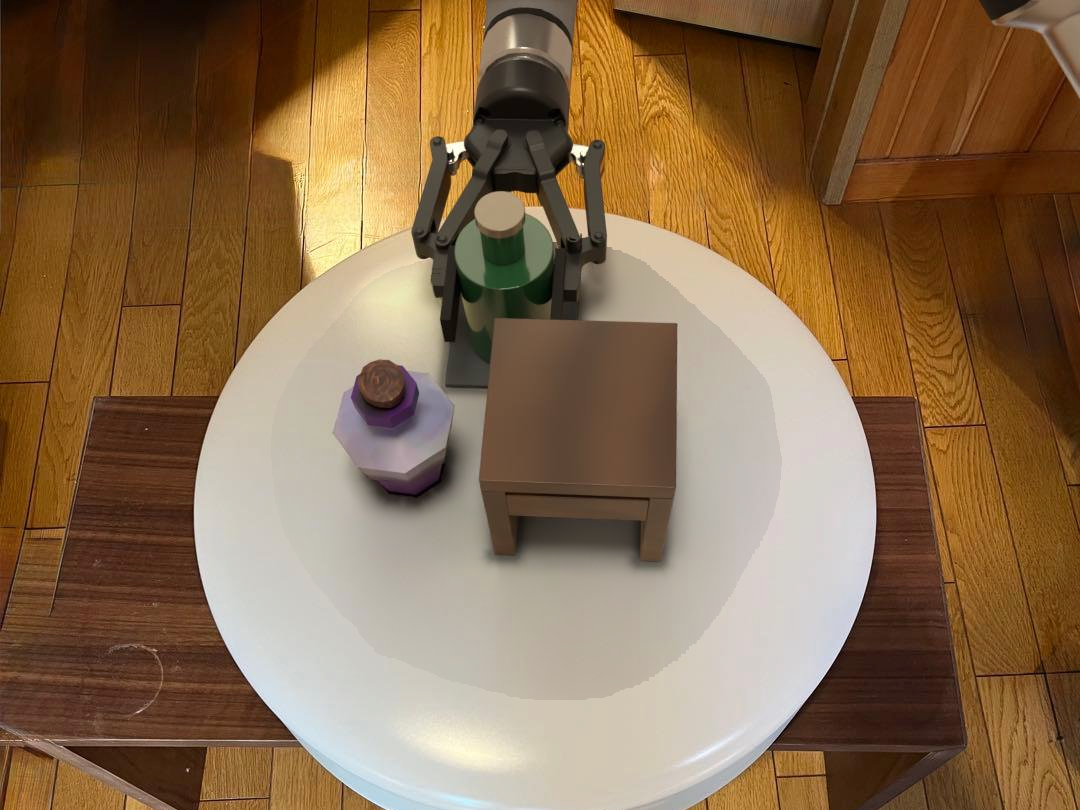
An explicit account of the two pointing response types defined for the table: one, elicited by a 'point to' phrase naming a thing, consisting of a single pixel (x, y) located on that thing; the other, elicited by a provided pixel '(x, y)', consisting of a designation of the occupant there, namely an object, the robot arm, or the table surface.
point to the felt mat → (466, 363)
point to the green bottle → (503, 267)
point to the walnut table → (580, 426)
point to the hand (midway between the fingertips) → (501, 332)
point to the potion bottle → (396, 427)
